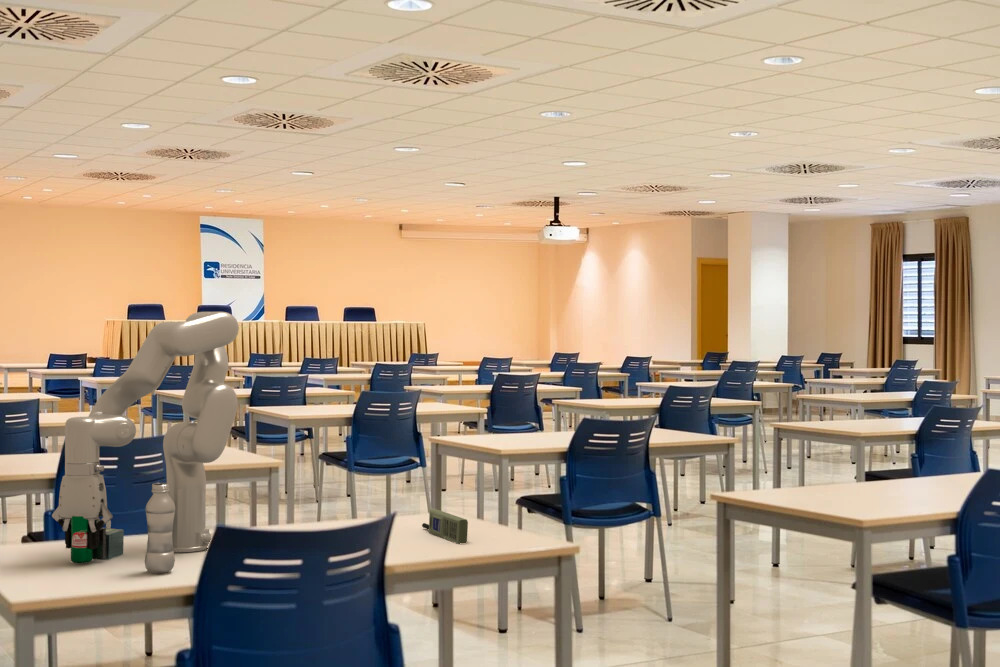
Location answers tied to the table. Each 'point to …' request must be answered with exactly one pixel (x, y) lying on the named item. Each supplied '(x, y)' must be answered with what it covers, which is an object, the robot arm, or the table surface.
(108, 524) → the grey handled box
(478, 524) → the table surface
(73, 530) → the soda can
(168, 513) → the plastic bottle
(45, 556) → the table surface
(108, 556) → the dark grey cube
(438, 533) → the handheld radio
